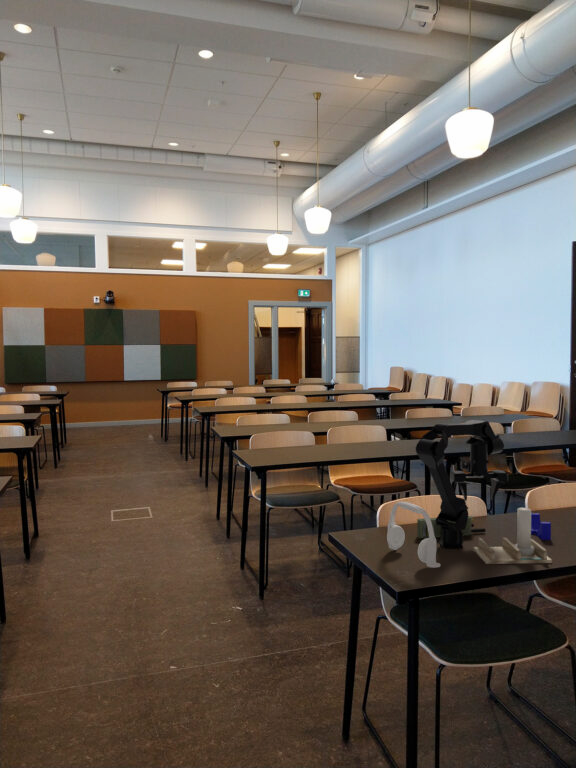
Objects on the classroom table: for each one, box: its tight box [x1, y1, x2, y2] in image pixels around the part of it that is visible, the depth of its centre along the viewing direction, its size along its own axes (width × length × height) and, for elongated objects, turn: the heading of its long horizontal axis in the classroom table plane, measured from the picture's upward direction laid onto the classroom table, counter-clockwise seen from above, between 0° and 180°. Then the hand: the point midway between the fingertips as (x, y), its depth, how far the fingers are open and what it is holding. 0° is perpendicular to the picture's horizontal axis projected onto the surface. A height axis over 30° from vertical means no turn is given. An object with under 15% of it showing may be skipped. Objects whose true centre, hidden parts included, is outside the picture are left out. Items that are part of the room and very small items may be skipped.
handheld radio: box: [416, 515, 487, 539], centre depth 199 cm, size 7×3×25 cm
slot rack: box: [473, 537, 553, 565], centre depth 178 cm, size 20×12×4 cm, turn 90°
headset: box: [386, 501, 441, 569], centre depth 176 cm, size 20×7×18 cm, turn 28°
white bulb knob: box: [514, 507, 534, 556], centre depth 177 cm, size 6×6×14 cm
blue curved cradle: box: [531, 512, 552, 541], centre depth 198 cm, size 12×4×6 cm, turn 175°
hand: (478, 500), depth 196 cm, fingers open, 9 cm apart
